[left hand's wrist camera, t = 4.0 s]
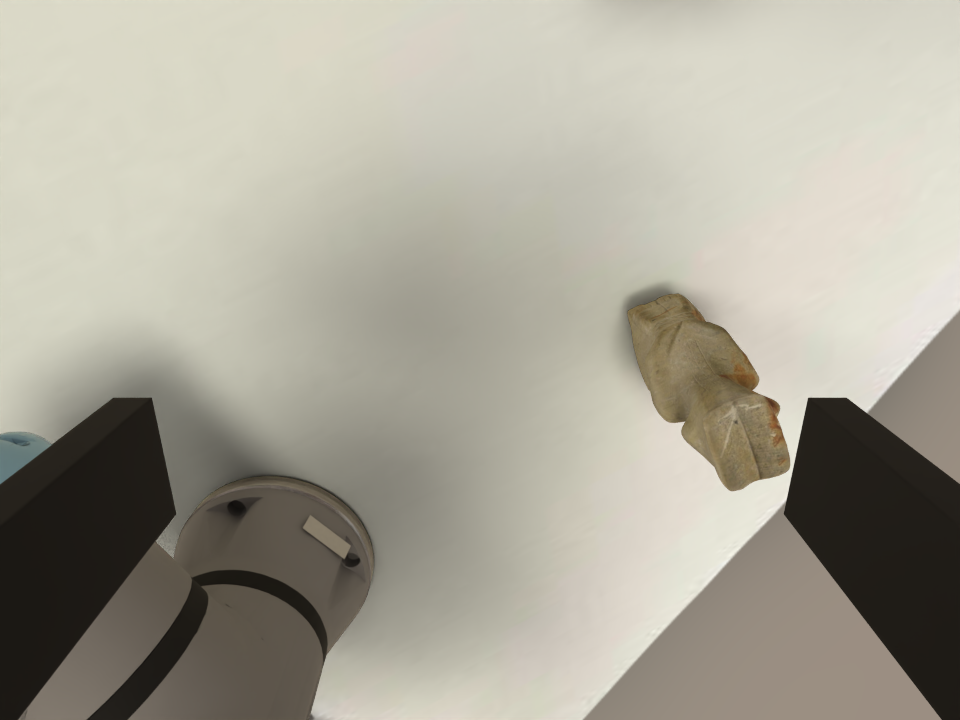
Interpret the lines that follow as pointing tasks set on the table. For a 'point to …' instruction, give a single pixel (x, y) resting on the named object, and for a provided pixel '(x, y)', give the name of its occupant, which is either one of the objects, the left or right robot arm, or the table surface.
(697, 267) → the table surface
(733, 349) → the sculpture
